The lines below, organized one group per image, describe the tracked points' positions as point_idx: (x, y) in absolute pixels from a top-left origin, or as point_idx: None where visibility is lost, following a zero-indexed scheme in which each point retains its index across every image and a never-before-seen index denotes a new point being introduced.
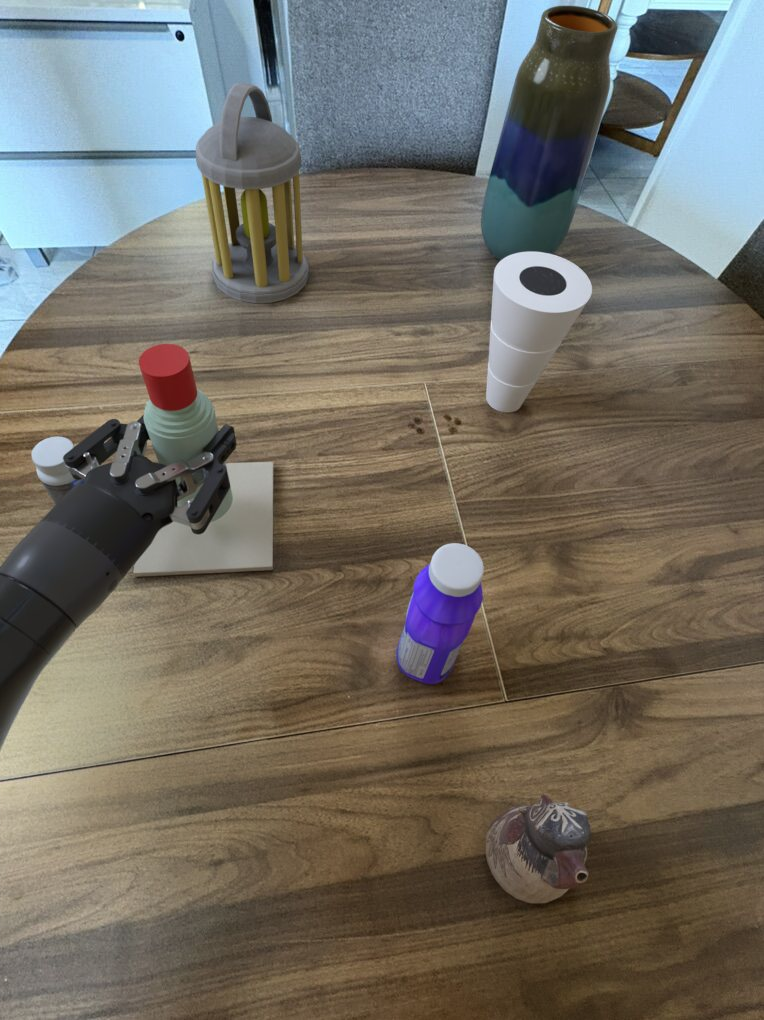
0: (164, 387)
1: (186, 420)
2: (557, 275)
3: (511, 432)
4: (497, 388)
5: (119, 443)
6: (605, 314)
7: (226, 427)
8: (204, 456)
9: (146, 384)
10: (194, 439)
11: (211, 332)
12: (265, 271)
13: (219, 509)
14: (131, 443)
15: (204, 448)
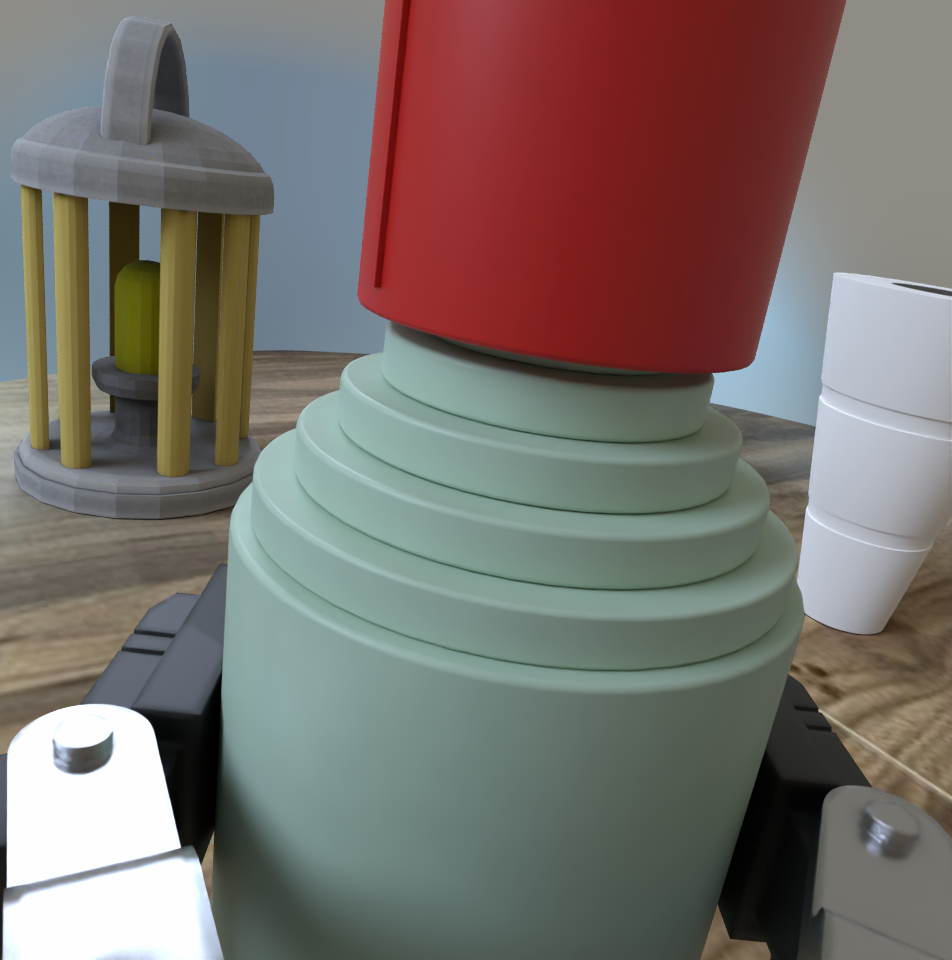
0: (776, 10)
1: (732, 501)
2: (949, 291)
3: (931, 668)
4: (868, 569)
5: (6, 944)
6: (808, 479)
7: None
8: (890, 823)
9: (524, 30)
10: (784, 680)
11: (52, 587)
12: (189, 434)
13: None
14: (177, 896)
15: (782, 772)
